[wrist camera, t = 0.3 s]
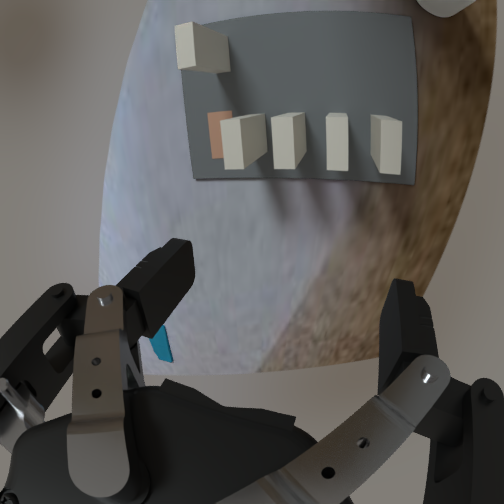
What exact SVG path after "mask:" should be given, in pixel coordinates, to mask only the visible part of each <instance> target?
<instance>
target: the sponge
mask: <svg viewBox="0 0 504 504" xmlns="http://www.w3.org/2000/svg"><path fill="white" fill-rule="evenodd" d="M149 340H150V342H151V345H152V347H153V349H154V352H155V353H156V355H157V356H158V358H159V359H160V360H163V361H167V362H172V361H173V357H172V354H171V350H170V346H169V342H168V338H167V333H166V329H165V326H164V325H162V327H161V328H160V329H159V331H158V332H157V333H156V335H155V336H154V337H153V339H150V338H149Z"/></svg>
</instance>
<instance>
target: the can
mask: <svg viewBox="0 0 504 504" xmlns="http://www.w3.org/2000/svg"><path fill="white" fill-rule="evenodd" d="M416 1H417V2H418V3H419V4H420V6H421V7H422V8H424V9H425V10H426V11H428V12H429V13H431V14H433V15H435V16H438V17H451V16H453V15H455V14H456V13H458V12H459V11H461V10H462V9H464V8H465V7H467V6H468V5H470V4H472V3H473V2H475V1H476V0H416Z"/></svg>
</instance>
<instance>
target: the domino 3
mask: <svg viewBox="0 0 504 504" xmlns="http://www.w3.org/2000/svg"><path fill="white" fill-rule="evenodd" d="M271 126H272V142H273V158H274V169H295V168H296V167H297V165H298V164H299V162H300V161H301V159H302V158H303V156H304V155H305V153H306V152H307V148H306V124H305V113H286V114H282V115H278V116H274V117H271Z"/></svg>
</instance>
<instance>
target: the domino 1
mask: <svg viewBox="0 0 504 504" xmlns="http://www.w3.org/2000/svg"><path fill="white" fill-rule="evenodd" d="M175 38H176V51H177V63H178V69H180V70H191V71H200V72H208V73H223V72H231V69H230V58H229V46H228V36H225V35H223V34H221V33H219V32H216V31H214V30H212V29H209V28H207V27H205V26H202V25H200V24H197V23H195V22H188V23H184V24H181V25H177V26H175Z"/></svg>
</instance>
